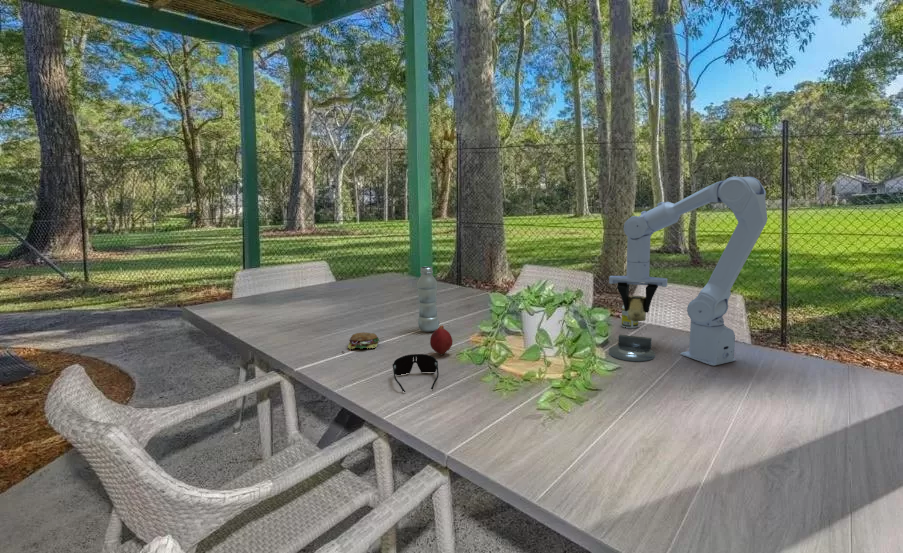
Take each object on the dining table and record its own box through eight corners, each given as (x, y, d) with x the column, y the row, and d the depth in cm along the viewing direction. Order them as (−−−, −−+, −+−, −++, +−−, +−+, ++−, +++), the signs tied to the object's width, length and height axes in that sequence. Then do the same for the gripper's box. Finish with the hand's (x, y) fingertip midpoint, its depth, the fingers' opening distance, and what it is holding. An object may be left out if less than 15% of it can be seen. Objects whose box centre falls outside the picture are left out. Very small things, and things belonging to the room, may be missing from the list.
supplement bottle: (635, 324, 152) (636, 298, 150) (640, 328, 147) (640, 301, 146) (619, 324, 152) (620, 298, 151) (623, 328, 148) (624, 301, 146)
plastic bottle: (414, 333, 150) (411, 268, 147) (424, 327, 156) (421, 265, 153) (433, 334, 148) (431, 269, 144) (442, 328, 154) (440, 265, 150)
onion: (436, 359, 125) (435, 329, 124) (427, 353, 130) (425, 324, 129) (456, 355, 128) (455, 326, 127) (446, 349, 133) (445, 321, 132)
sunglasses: (437, 371, 118) (436, 352, 116) (442, 397, 106) (441, 376, 105) (393, 374, 116) (392, 355, 115) (393, 401, 105) (392, 380, 104)
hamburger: (338, 343, 144) (337, 323, 143) (386, 340, 145) (385, 321, 144) (329, 358, 130) (327, 336, 129) (382, 356, 131) (380, 334, 130)
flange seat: (613, 345, 132) (613, 333, 131) (657, 350, 127) (657, 338, 126) (604, 358, 123) (605, 345, 122) (651, 364, 117) (652, 351, 117)
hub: (649, 319, 132) (650, 297, 131) (636, 322, 130) (636, 299, 129) (636, 316, 136) (637, 294, 135) (623, 318, 134) (624, 296, 133)
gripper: (669, 260, 130) (667, 310, 132) (613, 258, 137) (612, 305, 140) (666, 264, 124) (664, 316, 126) (607, 261, 131) (606, 311, 133)
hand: (636, 311), depth 133 cm, fingers closed on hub, 5 cm apart
